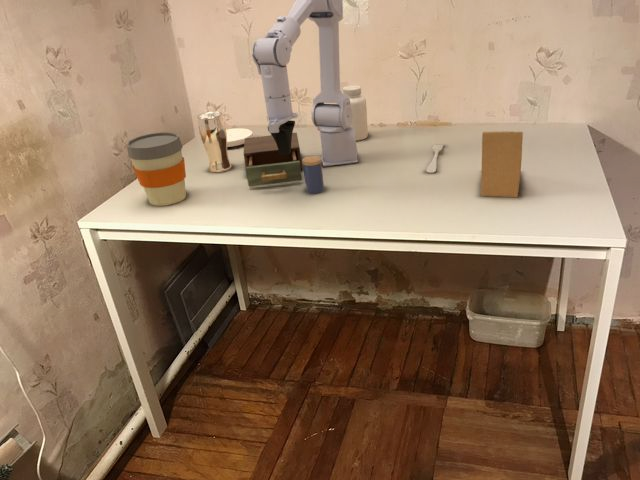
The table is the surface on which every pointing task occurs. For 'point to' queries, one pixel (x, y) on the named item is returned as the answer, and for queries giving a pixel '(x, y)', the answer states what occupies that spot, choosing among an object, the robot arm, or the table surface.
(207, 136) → the beer glass
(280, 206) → the table surface
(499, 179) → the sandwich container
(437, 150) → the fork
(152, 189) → the reusable coffee cup
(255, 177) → the drawer
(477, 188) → the table surface
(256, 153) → the cabinet
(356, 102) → the pill bottle
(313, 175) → the jar
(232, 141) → the plastic lid
